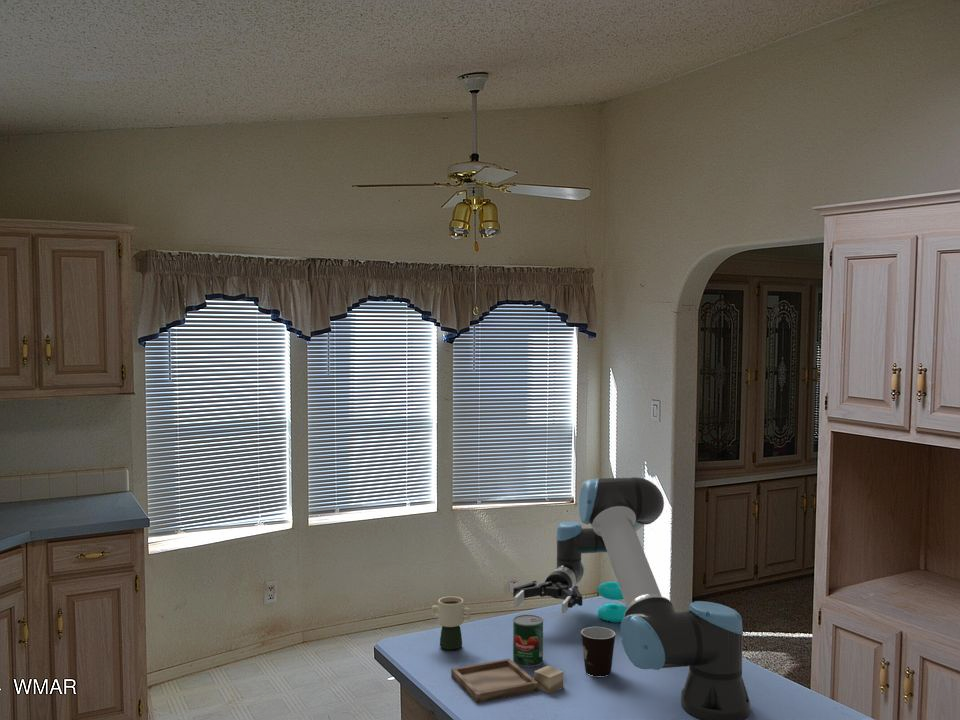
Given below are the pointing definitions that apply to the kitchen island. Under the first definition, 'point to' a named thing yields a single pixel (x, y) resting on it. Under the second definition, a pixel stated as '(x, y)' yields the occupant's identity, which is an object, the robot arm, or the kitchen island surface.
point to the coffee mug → (598, 650)
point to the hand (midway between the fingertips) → (539, 605)
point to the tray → (494, 680)
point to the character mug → (450, 620)
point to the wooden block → (549, 679)
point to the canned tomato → (528, 640)
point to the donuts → (611, 610)
